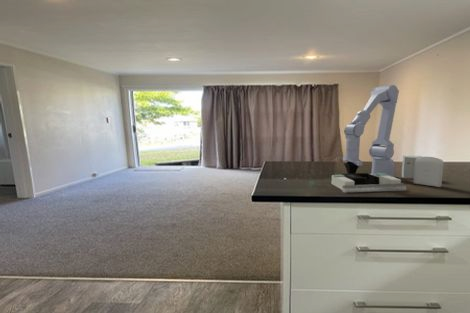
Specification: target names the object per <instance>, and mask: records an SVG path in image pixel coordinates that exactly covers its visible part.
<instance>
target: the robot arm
mask: <svg viewBox="0 0 470 313" xmlns="http://www.w3.org/2000/svg"><path fill="white" fill-rule="evenodd" d="M399 91H400V90H399V89H398V87H397V85H395V84H391V85H382V86H375V87H374V88H373V89H372V90H371V92H370V98H369V99H368V101H367V102H366V104H365V106H364V107H363V110H359V111H357V113H356V115H355V116H354V118H353V119H352V121H351V122H350V123H348V124H347V125H345V128H344V129H343V133H344V135H345V140H346V141H345V142H346V144H345V156H342V161H343V163H344V164H343V165H344V166H345V171H346V174H352V173H357V170H358V169H359V167H361V166H362V167H363V161H362V160H361V159H360V147H361V146H360V143H361V136H362V135H363V134H364V131H365V126H366V125H367V123H368V122H369V120H370V119H371V113H372V112H373V110H375V108H376V107H377V106H378V105H381V106H382V111H381V115H380V120H379V126H378V131H377V138H376V139H374V140H373V141H372V142H371V145H370V147H369V150H368V153H369V156H370V157H371V159H372V160H371V162H372V164H371V173H370V174H371V175H374V174H379V173H385V174H388V176H391V177H394V178H396V177H395V161H394V159H392V157H393V156H394V153H395V150H394V148H395V144H394V143H393V142H392V141H391V140H390V138H391V133H392V127H393V122H394V117H395V111H396V106H397V103H398V100H399Z"/></svg>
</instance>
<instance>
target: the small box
mask: <svg viewBox="0 0 470 313" xmlns="http://www.w3.org/2000/svg"><path fill="white" fill-rule="evenodd" d="M419 157H423V156H422V155H402V163H401V178H403V179H413V180H414V168H415V160H416V158H419Z"/></svg>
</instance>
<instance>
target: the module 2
mask: <svg viewBox="0 0 470 313" xmlns="http://www.w3.org/2000/svg"><path fill="white" fill-rule="evenodd" d="M374 176H377V177H379V184H400V183H402V180H401V179H400V178H397V177H395V178H394V177H391V176H388V174H385V173H379V174H374Z"/></svg>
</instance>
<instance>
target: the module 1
mask: <svg viewBox="0 0 470 313" xmlns="http://www.w3.org/2000/svg"><path fill="white" fill-rule="evenodd" d="M354 182H355V181H353V180H351V179H348V178H346V177H345V176H344V175H341V174H332V175H331V185H333V186H335V187H336V188H338V189H340V190H342V186H343V185H354Z"/></svg>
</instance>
